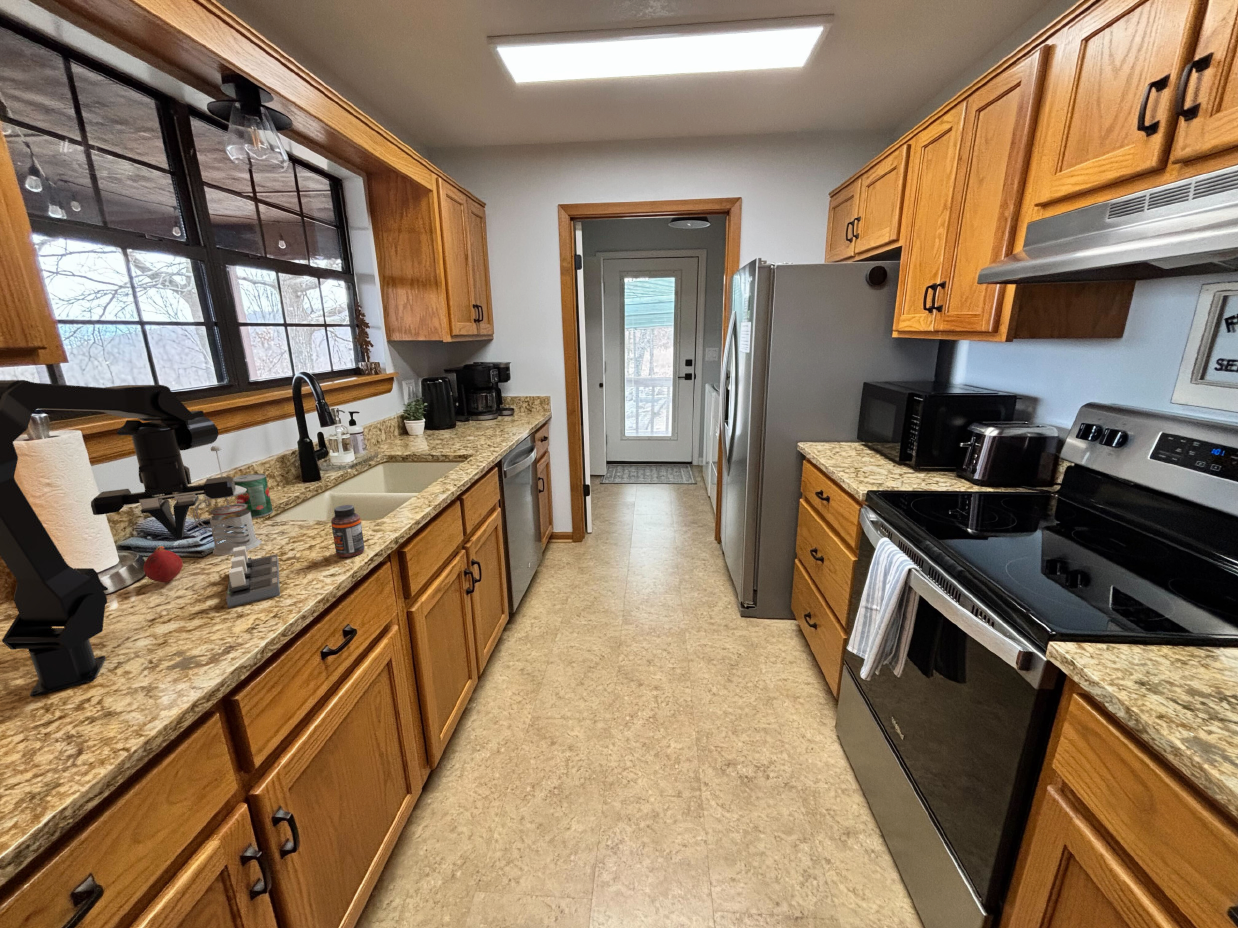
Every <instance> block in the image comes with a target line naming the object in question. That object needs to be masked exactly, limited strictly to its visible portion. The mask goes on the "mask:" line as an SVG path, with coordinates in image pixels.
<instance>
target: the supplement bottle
mask: <svg viewBox="0 0 1238 928" xmlns="http://www.w3.org/2000/svg"><path fill="white" fill-rule="evenodd" d="M333 511H334V512H333V514H334V516H333V517H332V518H331V523H330V524H331V530H332V536H333V543H334V549H335V554H336V556H337V557H339V558H343V559H344V558H345V557H347V558H352V557H357V556H359V555H361V554H363V552H364V551H365V539H364V533H363V527H362V521H361V520H362V519H361V517H360V514H358V513H356V512H355V506H354V505H353V504H343V505H339V506H336V507H335V508H333ZM356 555H357V556H356Z"/></svg>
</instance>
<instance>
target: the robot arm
mask: <svg viewBox="0 0 1238 928" xmlns="http://www.w3.org/2000/svg"><path fill="white" fill-rule="evenodd" d="M36 410H49V411H50V410H53V411H87V412H88V411H89V412H91V411H92V412H101V413H105V414H108V415H110V416H115V417H120V418H126V419H131V420H126V421H125V423H124V424H123V425H122V426H121V427H119V429H118V430H117V431H116V435H118V436H131V440H132V444H133V448H134V451H135V456H136V459H137V463H138V480H139V482H140V483H141V484H143V487H144V491H140V492H132V491H131V490H130V489H129V488H121V489H115V490H114V489H113V490H106V491H101V492H100V493H99V494H98V495H96V496H95V497H94V498H93V499H92V500H91V501H90V507H91V512H92V514H93V515H94V516H100V515H101V516H103V515H108V514H115V513H119V512H120V511H121V510H122V509H123V508H124V507H125V506H128V505H129V506H130V505H137V504H140V506H141V509H140V514H149V515H151V516H152V517H153V518H154V519H155V520H156V521H158V522H159V523H160V524H161V525H162V526H163V527H164V528H165V529H166V530H167V532H168V533H170V535H171V536H172V537H173V539H175V540H176V541H177V540H182V539H183V537H184V531H185V526H186V520H187V515H188V512H189V509H190V507H196V506H197V503H198V501H199V497H200V496H201V495H202V496H204V494H205V495H206V496H207V497H209V498H211V499H210V500H216V499H215V498H222V497H229V498H231V497H230V496H233V495H234V492H235V490H236V488H235V483H234V479H233V478H234V477H232V476H230V475H229V476H223V477H220V476H219V477H212V478H206V480H205V482H204V483H203V484H202V483H201V484H195V485H194V484H193V485H192V477H191V471H190V468H189V467H188V466H186V465H185V464H184V462H183V458H182V453H181V451H186V450H191V449H196V448H199V447H203V446H206V445H207V446H208V445H211V444H213V443H215V442H216V441H217V439H218V438H219V429H218V427H217V425H216V424H215V423H214V422H213V421H212V419H210V418H209V417H207V416H205V413H204V411H203V410H189V408H188V407H186V406H185V405H184V403H182V402H181V400H179V398H178V397H177V396H176V395H175V394H174V393H173V391H171V388H170V387H169V386H167V385H164V384H124V385H113V386H105V387H100V386H99V387H98V386H87V385H85V386H84V385H75V384H73V385H72V384H71V385H70V384H57V383H45V382H44V383H43V382H42V383H41V382H34V381H33V382H32V381H30V380H25V379H7V380H5V379H4V380H3V379H0V558H1V560H3V562H4V564H5V565H6V567H7V568H8V570H9V571H10V572H11V574H12V575H13V577H14V579H15V580H16V587H15V590H14V591H15V592H14V594H13V595H14V597H13V602H14V604H15V606H16V610H17V612H18V614H17V615H16V617H15V618H14V620H13V621H12V623H11V625H10V626H9V628H8V629H7V631H6V633H5V634H4V636H3V638H2V639H1V642H2V643H3V645H5V646H6V647H8V648H9V649H10V650H13V651H16V650H28V653H29V656H30V658H31V661H32V664H33V667H34V670H35V672H36V673H35V674H36V676H37V678H38V679H37V680H38V681H37V683H36V684H35V685H34V687H33V688H32V689H31V691H30V693H29V696H30V697H31V698H34V697H38V696H41V695H42V696H43V695H45V694H48V693H49V694H50V693H52V692H53V693H54V692H56V691H60V690H63V689H67V688H70V687H74V686H77V685H82V684H86V683H89V682H92V681H94V680H96V679H97V676H98V675H99V673H100V671H101V669H102V667H103V665H104V663H105V661H106V659H107V657H106V656H105V655H100V656H97V657H95V653H94V651H93V647H92V644H91V641H90V639H92V638H94V637H96V636H97V635H100V633H102V632H103V630H104V621H105V611H106V605H107V604H108V598H107V595H106V593H105V591H108V590H109V588H108V587H107V586H105V585H104V584H103V583H102V582H101V579H100V577H99V573H98V572H97V570H95V569H94V568H92V567H89V568H88V567H85V568H83V567H81V568H79V567H78V568H76V567H75V568H74V567H72V566H70V565H69V564H68V563H67V562H66V560H65V558H64V556H63V555H62V553H61V552H60V550H59V549H58V547H57V545H56V544H55V543H54V541H53V539H52V537H51V536H50V534H49V532H48V530H47V529H46V527H45V526H44V524H43V523H42V522H41V519H40V518H39V516H38V515H37V513H36V511H35V510H34V509H33V507H32V505H31V504H30V502H29V500H28V499H27V497H26V495H25V494H24V492H23V490H22V489H21V487H20V485H19V484H18V483H17V481H16V478H15V473H16V470H17V464H18V461H19V456H18V453H17V449H16V447H15V445H14V442H15V441H16V440H17V439H18V438H19V437H20V436H21V435H23V434H24V433H25V432H27V430H28V428H29V425H30V422H31V419H32V415H33V413H34V412H35V411H36ZM133 419H134V420H133ZM135 419H137V420H135ZM142 421H143V422H142ZM172 499H174V501H176V502H175V503H174V505H173V506H172V508H173V513H172V510H171V507H170V506H171V505H170V500H172ZM222 499H223V498H222Z"/></svg>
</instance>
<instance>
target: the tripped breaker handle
mask: <svg viewBox="0 0 1238 928" xmlns="http://www.w3.org/2000/svg"><path fill="white" fill-rule="evenodd" d="M228 576H229V578H230V581H231V583H230V584H229V583H228V584H229V592H233V591H237V590H242V589H246V588H249V579H246V580H245V576H244V571H243V567H238V568H233V569H231V568H229V571H228Z"/></svg>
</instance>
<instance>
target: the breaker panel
mask: <svg viewBox="0 0 1238 928" xmlns="http://www.w3.org/2000/svg"><path fill="white" fill-rule="evenodd" d="M251 560H252V561H251V565H249V566H246V567H247V568H250V569H251V573H250V576H247V577H245V580H246V579H249V588H246V589H242V590H237V591H233V592H229V584H230V583H231V581H230V577H229V579H228V583H227V584H228V585H227V590H226V604H227V608H228V609H231V608H235V607H238V606H241V605H242V606H243V605H246V604H251V603H254V602H255V603H256V602H259V601H262V600H267V599H271V598H276V597H279V596H280V595H281V590H280V565H279V564H280V563H279V559H278V554H277V553H276V554H275V553H274V554H272V555H267V556H261V557H257V558H251ZM230 569H233V568H232V565H231V568H230Z"/></svg>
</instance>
